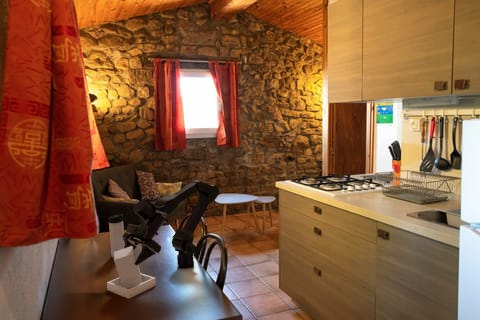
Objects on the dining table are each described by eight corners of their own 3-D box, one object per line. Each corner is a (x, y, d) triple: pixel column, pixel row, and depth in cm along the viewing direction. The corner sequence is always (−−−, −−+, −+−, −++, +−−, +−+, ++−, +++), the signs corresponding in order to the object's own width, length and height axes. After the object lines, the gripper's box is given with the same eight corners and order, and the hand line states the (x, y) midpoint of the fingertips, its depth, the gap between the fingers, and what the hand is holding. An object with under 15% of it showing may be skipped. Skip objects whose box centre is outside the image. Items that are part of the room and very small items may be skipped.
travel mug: (121, 259, 173) (118, 216, 171) (108, 258, 175) (105, 216, 173) (128, 254, 180) (125, 213, 177) (115, 253, 181) (112, 212, 179)
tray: (134, 278, 152) (134, 270, 151) (155, 285, 144) (155, 277, 144) (107, 290, 142) (106, 282, 141) (128, 298, 134) (127, 290, 134)
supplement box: (143, 282, 141) (133, 253, 138) (123, 290, 139) (113, 260, 136) (141, 273, 148) (132, 245, 145) (122, 279, 146) (113, 251, 143)
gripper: (125, 211, 150) (100, 246, 143) (152, 219, 137) (127, 257, 130) (143, 226, 157) (120, 260, 150) (171, 234, 144) (148, 271, 137)
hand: (128, 261), depth 141 cm, fingers open, 9 cm apart
